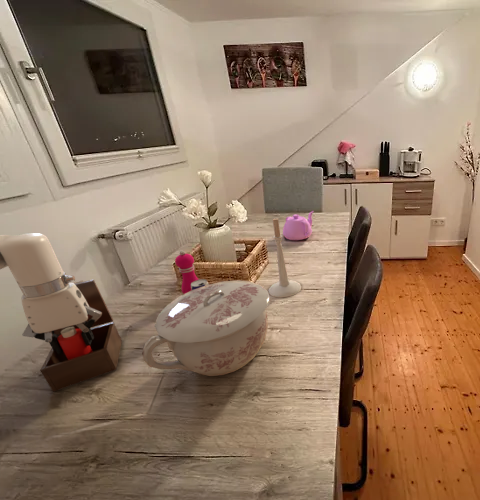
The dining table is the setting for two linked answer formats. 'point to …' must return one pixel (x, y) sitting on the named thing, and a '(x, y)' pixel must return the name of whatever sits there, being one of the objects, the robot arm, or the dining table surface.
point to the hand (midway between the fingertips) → (75, 345)
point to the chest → (84, 360)
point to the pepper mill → (186, 270)
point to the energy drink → (198, 284)
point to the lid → (92, 303)
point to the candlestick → (282, 270)
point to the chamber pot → (212, 328)
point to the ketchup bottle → (73, 343)
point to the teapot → (298, 227)
